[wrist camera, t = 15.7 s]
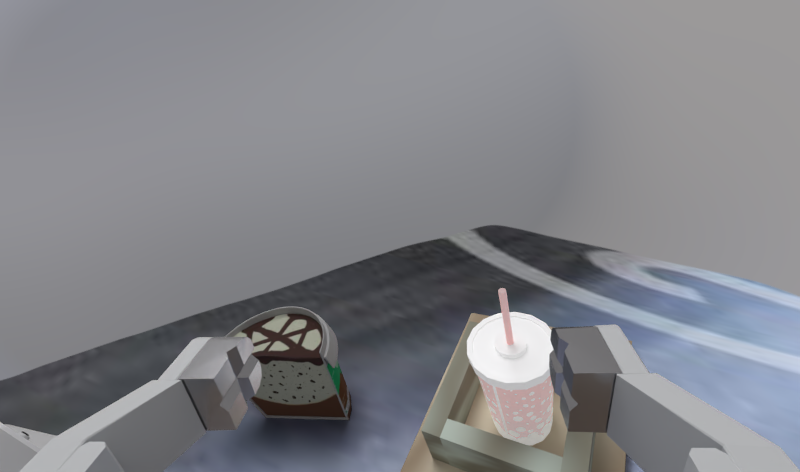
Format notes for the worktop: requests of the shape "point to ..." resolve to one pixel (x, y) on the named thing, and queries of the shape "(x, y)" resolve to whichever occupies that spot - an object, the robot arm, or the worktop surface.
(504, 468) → the collar stand
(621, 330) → the robot arm
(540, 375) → the beverage cup
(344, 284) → the worktop surface
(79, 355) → the worktop surface
